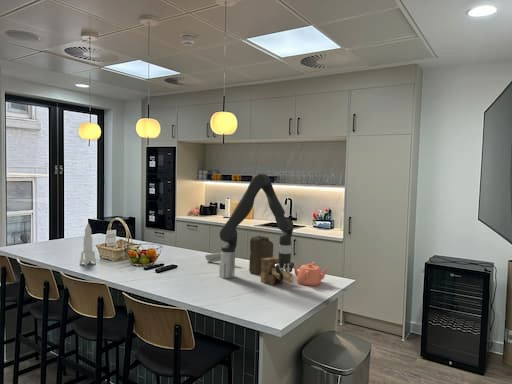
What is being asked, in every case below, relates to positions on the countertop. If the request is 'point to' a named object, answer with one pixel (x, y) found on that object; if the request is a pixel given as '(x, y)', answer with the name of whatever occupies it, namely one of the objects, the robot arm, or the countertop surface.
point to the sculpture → (88, 247)
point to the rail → (286, 275)
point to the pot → (309, 274)
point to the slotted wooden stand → (269, 270)
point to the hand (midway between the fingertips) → (284, 279)
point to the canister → (259, 252)
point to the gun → (213, 257)
